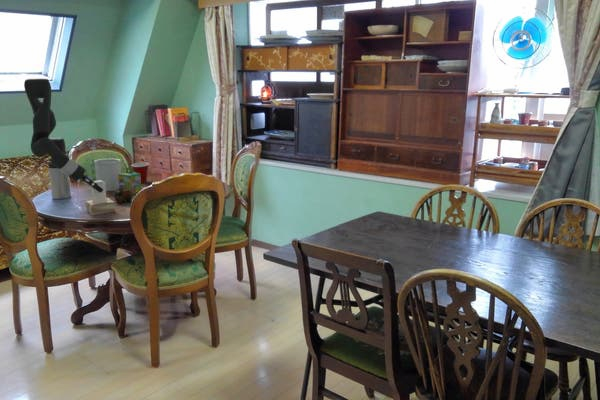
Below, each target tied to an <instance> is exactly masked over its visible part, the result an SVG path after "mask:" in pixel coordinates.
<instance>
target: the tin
mask: <svg viewBox="0 0 600 400" xmlns="http://www.w3.org/2000/svg"><path fill="white" fill-rule="evenodd" d="M94 182H95V183H96V184H97V185H98V186H99V187H101V188H102V189H103V191H102V192H101V193H100V192H98V191H97V190H96V189H94V188H93V187H91V186H90V192H91V200H92V201H93V202H94V203H101V202H107V198H108V197H107V191H106V188H105V183H104V182H103V181H102V180H98V181H97V180H94ZM93 185H94V183H93V184H92V186H93Z"/></svg>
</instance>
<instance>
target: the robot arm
mask: <svg viewBox="0 0 600 400" xmlns="http://www.w3.org/2000/svg"><path fill="white" fill-rule="evenodd" d="M23 85H24V90H25V94H26V97H27V100H28V101H29V104H30V106H31V110H32V114H33V117H32V129H33V132H32V137H31V142H30V150H31V152H32V154H33V155H34V156H35V157H37V158H38V157H39V158H42V157H45V156H46V155H47V156H50V160H49V162H48V163H47V165H48V173H49V181H50V189H51V197H52V199H53V200H64V199H69V198H70V197H71V195H72V193H71V184H70V179H72V180H73V181H75V182H78V181H79V180H80V181H81V182H82V184H85V185H87V186H88V187H90V188H91V187H93V188H94V189H96V190H97V191H98V192H100V193H101V192H102V191H103V189H102V188H101V187H99V186H98V185H97V184H96V183H95V182H94V181H95V180H93V179H92V178H91V177H90V176H89V175H88V174H85V173H86V171H87V170H86V168H85V167H83V166H82V165H81V164H79V163H78V162H77V161H76V160H74V159H72V158H70V157H69V156H68V155H66V153H67V152H66V151H67V150H66V142H65V139H64V138H63V137H50V135H51V134H52V133H53V131H54V130H55V128H56V126H57V121H56V116H55V113H54V112H53V110H52V109H51V105H52V85H51V82H50V80H49V79H48V78H27V79H25V81H24V83H23ZM40 99H43V100H42V101H41V100H40ZM93 183H94V185H93V186H92V184H93Z"/></svg>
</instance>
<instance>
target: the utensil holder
mask: <svg viewBox="0 0 600 400" xmlns="http://www.w3.org/2000/svg"><path fill="white" fill-rule="evenodd" d="M121 162H122V160H121V159H120V158H110V157H108V158H100V159H95V160H94V168H95V176H96V181H98V180H102V181H103V182H104V183H105V188H106V192H114V190H117V189H119V182H118V174H122V167H121V165H122V163H121Z"/></svg>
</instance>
